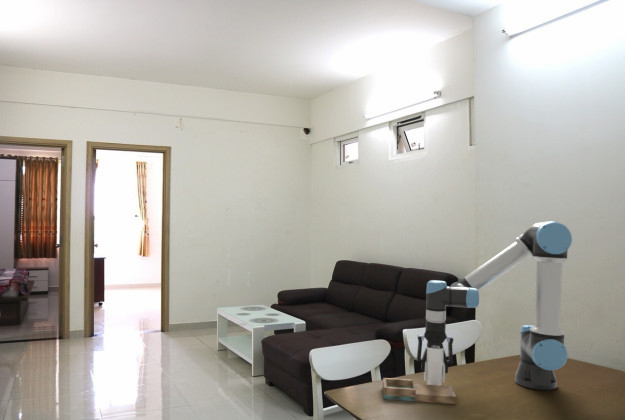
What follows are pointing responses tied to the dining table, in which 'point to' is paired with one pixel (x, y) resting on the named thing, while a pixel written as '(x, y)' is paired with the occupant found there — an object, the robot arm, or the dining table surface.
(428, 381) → the white cylinder
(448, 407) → the dining table surface
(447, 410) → the dining table surface
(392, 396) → the rail board
